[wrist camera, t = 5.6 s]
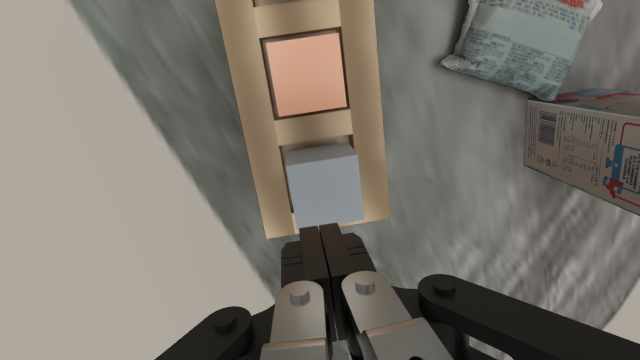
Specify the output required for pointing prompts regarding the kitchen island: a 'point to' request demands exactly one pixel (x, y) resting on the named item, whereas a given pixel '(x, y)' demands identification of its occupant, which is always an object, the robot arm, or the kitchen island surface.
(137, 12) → the kitchen island surface
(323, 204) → the slate key
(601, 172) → the juice carton
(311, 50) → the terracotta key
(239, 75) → the light brown rectangular frame
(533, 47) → the packaged food
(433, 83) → the kitchen island surface
